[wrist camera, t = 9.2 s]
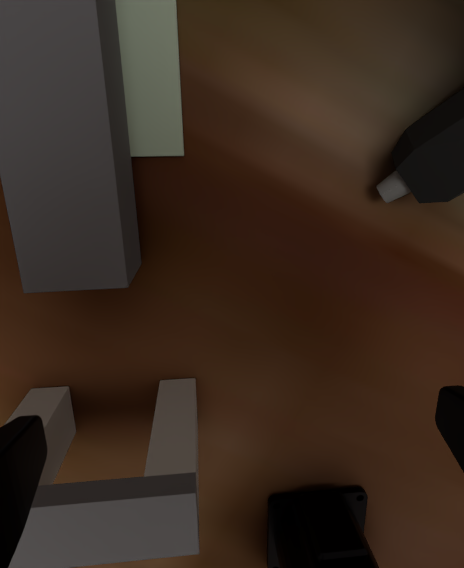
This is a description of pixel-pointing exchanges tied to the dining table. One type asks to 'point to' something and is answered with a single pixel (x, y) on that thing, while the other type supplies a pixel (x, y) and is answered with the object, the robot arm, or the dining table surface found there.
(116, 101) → the grey tall block
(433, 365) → the dining table surface
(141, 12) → the mat
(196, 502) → the clip
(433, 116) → the gun
